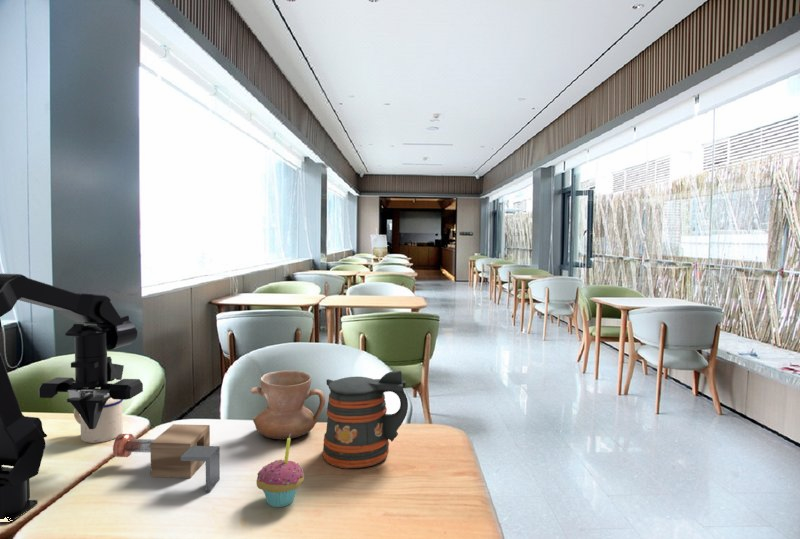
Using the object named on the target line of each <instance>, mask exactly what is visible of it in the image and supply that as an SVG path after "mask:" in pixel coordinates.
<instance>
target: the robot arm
mask: <svg viewBox="0 0 800 539" xmlns="http://www.w3.org/2000/svg"><path fill="white" fill-rule="evenodd" d="M18 301H20V302H24V303H28V304H32V305H37V306H39V307H43V308H47V309H51V310H54V311H57V312H59V313H60V315H61V316H63V317H64V318H66V319H69V320H70V321H73V322H76V323H74V324H73V325H72V326H71V327H70V328H69V329H68V330H67V331H66V332H65V334H64V336H65V337H74V360H73V361H72V362H70V368H71V369H73V368H74V371H75V372H74V373H75V375H74V377H75V379H74V378H73V377H61V376H60V377H55V378H52V379H50V380H47V381H45V382H42V383H41V384H40V385H39V388H38V398H41V399H43V398H44V399H54V398H55V397H56V396H57V395H58V393H68V398H67V399H66V403H70V404H71V405H72V406H73V408H74V409H76V410H77V411H78V412H79V414H80V415H81V417H82V418H83V420H84V422H85V423H86V425H87V426H88V428H89V429H95V428H96V426H97V423H98V421H99V418H100V415H101V413H102V410H103V408H104V406H105V404H106V402H107V401H108V399H110V398H112V399H119V400H123V401H125V400H131V399H132V398H134V397H136V396H137V395H139V394H141V393H143V392H144V385H143V382H142V381H141V380H140V379H139V378H123V373H124V367H125V366H124V365H122V364H118V363H113V362H112V361H113V360H112V357H111V356H108V351H111V350H115V349H118V348H122V347H125V346H128V345H131V344H133V343H134V342H135V341H136V340H137V337H138V330H137V328H136V326H135V325H134V323H133V322H132V321H131V320H130V317H129V316H130V315H124V314H123V315H121V314H120V315H119V312H118V311H117V310H116V309H115V307H114V305H113V303H112V302H111V298H110V297H109V296H107V295H106V294H95V293H94V294H93V293H81V292H73V291H71V290H68V289H65V288H61V287H57V286H55V285H52V284H48V283H46V282H43V281H38V280H36V279H32V278H29V277H28V276H25V275H23V274H21V273H0V331H1V329H2V320H1V319H2V318H1V317H3V316H4V315H6V314H8V313H9V312H11V311H12V310H13V309H14V307H15V306H16V303H17V302H18ZM77 322H78V323H77ZM82 323H83V324H82ZM115 380H116V382H114V383H109V382H113V381H115ZM47 437H48V434H47V433H45V431H44V428H43V422H42V420H41V418H40V417H35V416H25V415H24V414H23V412H22V410H21V407H20V405H19V402H18V399H17V396H16V393H15V390H14V388H13V385H12V382H11V379H10V376H9V374H8V371H7V369H6V365H5V363H4V359H3V356H2V354H1V353H0V519H4V518H5V517H6V518H7V517H9V518H7V519H8V521H10V520H14V519H15V518H16V517H18V516H20V515H21V514H23V513H24V512H25V513H26V511H27V512H28V511H30V508H31V509H32V508H33V507H35V506H37V505H38V503H39V501H38V500H37V499H31V494H30V493H31V492H30V490H31V489H30V479H32V478H34V477H36V476H38V475H39V471H40V469H41V462H42V460H43V457H44V453H45V450H46V439H45V438H47ZM25 513H24V514H25ZM24 514H23V515H24ZM21 516H22V515H21ZM21 516H20V517H21ZM10 518H11V519H10ZM18 518H19V517H18ZM9 519H10V520H9ZM14 521H15V520H14Z"/></svg>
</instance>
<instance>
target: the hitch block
mask: <svg viewBox="0 0 800 539" xmlns="http://www.w3.org/2000/svg"><path fill="white" fill-rule="evenodd" d="M210 433H211V432H210V424H181V423H179V424H177V423H176V424H175V423H173V424H171V425H170V426H169V427H168V428H167V429H166V430H165V431H163V432H162V433H161V434H159V435H158V436H157V437H156V438H154V440H153V441H152V442H151V443H150V452H151V453H150V477H151V478H176V479H178V478H182V479H183V478H186V479H187V478H188V479H192V477H193V476H194V475H195V474H196V473H197V471H199V469H200V468H201V467H202V465H204V463H206V461H181V456H182V455H183V454H184V453H185V452H186V451H187V450H188V449H189V448H190V447H191V446H211V444H210V443H211V438H210V436H211V435H210Z"/></svg>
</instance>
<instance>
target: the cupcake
mask: <svg viewBox="0 0 800 539" xmlns="http://www.w3.org/2000/svg"><path fill="white" fill-rule="evenodd" d="M290 435H291V434H289V438H287V439H286V444H285V445H286V446H285V453H284V454H285V455H284V460H282V459H277V460H274V461H271V462H270V463H268V464H267V465H265V466H263V467H262V468H261V469H260V470H259V471H258V472H257V478H256V487H257V489H259V490H262V491H263V494H264V496H265V499H266V502H267V504H268V505H269V506H270V507H274V508H281V507H287V506H289V505H290V504H292V503H293V502H294V500H295V497H296V493H297V491H298V489H299V487H300V485H301V484H302V483H303V482H304V480H305V472H304V469H303V467H302V466H300V465H299V463H297V462H295V461H293V460H289V455H290V448H291V447H290V446H291V441H292V440H291V439H290Z"/></svg>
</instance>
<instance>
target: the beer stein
mask: <svg viewBox="0 0 800 539" xmlns="http://www.w3.org/2000/svg"><path fill="white" fill-rule="evenodd" d="M325 381H326V385H327V386H328V388H329V389H328V390H329V391H330V392H329V394H328V401H327V408H326V416H327V421H326V429H325V430H326V431H325V433H324V435H323V449H322V456H323V459H324V461H325V462H326V463H328V464H330V465H332V467H336V468H339V469H345V470H346V469H347V470H348V469H361V468H367V467H373V466H376V465H378V464H380V463H382V462H383V461H384V460H386V458H387V457H388V455H389V451H390V450H389V446H390V443H389V441H391V442H393V441H394V440H395V439H396V437H397V436H398V435H399V433H398V430H399V429H400V427H401V425H402V424H403V423H404V421H405V419H406V417H407V414H408V409H409V401H408V398H407V397H408V396H407V394H406V392H405V390H404V389H405V388H406V387H407V384H408V383H407V381H405V380H404V377H403V372H402V370H400V369H398V370H393V371H389V372H387V373H385V374H384V375H383V376H382V377H381V378H375V379H374V378H371V377H365V376H348V377H347V376H346V377H343V378H342V377H341V378H339V379H334V380H332V379H328V378H327V379H326V380H325ZM389 392H392V393H394V394H396V396H397V397H398V399H399V401H400V403H399V409H398V410H397V411H396V412H394V413H387V411H388V408H387V404H386V396H385V393H389Z"/></svg>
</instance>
